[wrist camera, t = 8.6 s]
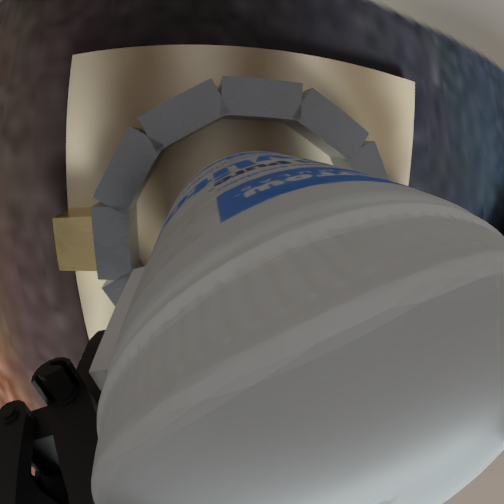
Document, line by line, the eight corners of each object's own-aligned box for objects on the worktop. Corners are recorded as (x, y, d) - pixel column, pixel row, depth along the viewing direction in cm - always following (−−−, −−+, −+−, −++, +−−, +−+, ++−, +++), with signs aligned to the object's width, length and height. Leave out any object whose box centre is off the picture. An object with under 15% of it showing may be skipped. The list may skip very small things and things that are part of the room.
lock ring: (92, 346, 20) (83, 368, 17) (69, 93, 14) (52, 87, 12) (376, 335, 23) (390, 353, 21) (412, 115, 18) (436, 114, 15)
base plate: (101, 362, 22) (97, 372, 20) (79, 59, 14) (72, 54, 13) (363, 351, 25) (369, 359, 24) (405, 84, 18) (414, 82, 17)
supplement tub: (265, 114, 15) (545, 40, 1) (361, 243, 18) (557, 399, 5) (128, 237, 16) (-6, 496, 2) (242, 342, 19) (303, 573, 6)
